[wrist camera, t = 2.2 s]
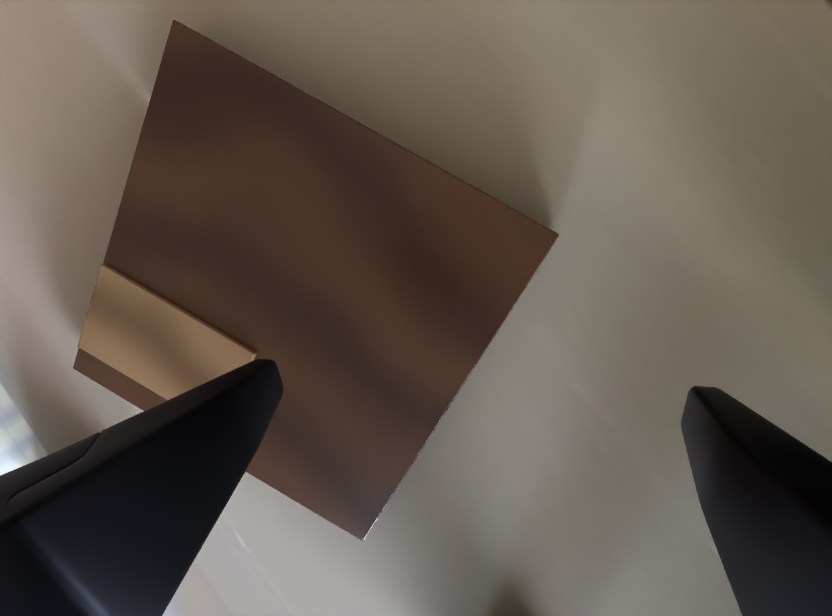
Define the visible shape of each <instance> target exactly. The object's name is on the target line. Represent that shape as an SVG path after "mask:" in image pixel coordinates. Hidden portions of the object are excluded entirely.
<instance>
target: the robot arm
mask: <svg viewBox="0 0 832 616" xmlns="http://www.w3.org/2000/svg"><path fill="white" fill-rule="evenodd" d="M283 391H284V387H283V383H282V380H281V376H280V373H279V370H278V367H277V364H276V363H275V361H273V360H271V359H256V360H253V361H251V362H249V363H247V364H245V365H243V366H241V367H238V368H236V369H234V370H232V371H230V372H228V373H225V374H223V375H221V376H219V377H217V378H215V379H213V380H210V381H208V382H206V383H204V384H202V385H200V386H197V387H195V388H193V389H191V390H189V391H187V392H185V393H182V394H180V395H178V396H176V397H174V398H172V399H170V400H167V401H165V402H163V403H161V404H159V405H157V406H154V407H152V408H150V409H148V410H146V411H144V412H142V413H139V414H137V415H135V416H133V417H131V418H129V419H127V420H124V421H122V422H120V423H118V424H116V425H114V426H111V427H109V428H107V429H105V430H103V431H102V432H101V433H96V434H94V435H92V436H90V437H88V438H85V439H83V440H81V441H79V442H77V443H75V444H72V445H70V446H68V447H66V448H64V449H61V450H59V451H57V452H55V453H52V454H50V455H48V456H46V457H43V458H41V459H39V460H36V461H34V462H32V463H29V464H27V465H25V466H22V467H20V468H18V469H15V470H13V471H10V472H8V473H6V474H3V475H1V476H0V616H162V615H163V613H164V611H165V610H166V608H167V606H168V604H169V603H170V601H171V599H172V597H173V596H174V594H175V592H176V590H177V589H178V587H179V585H180V584H181V582H182V580H183V578H184V577H185V575H186V573H187V571H188V570H189V568H190V566H191V565H192V563H193V561H194V559H195V558H196V556H197V554H198V552H199V551H200V549H201V547H202V546H203V544H204V542H205V540H206V539H207V537H208V535H209V533H210V532H211V530H212V528H213V526H214V525H215V523H216V521H217V520H218V518H219V516H220V514H221V513H222V511H223V509H224V507H225V506H226V504H227V502H228V501H229V499H230V497H231V495H232V494H233V492H234V490H235V488H236V487H237V485H238V483H239V482H240V480H241V478H242V476H243V475H244V473H245V471H246V469H247V468H248V466H249V464H250V463H251V461H252V459H253V457H254V455H255V454H256V452H257V450H258V448H259V446H260V444H261V442H262V440H263V438H264V435H265V433H266V431H267V429H268V427H269V424H270V422H271V420H272V418H273V416H274V413H275V411H276V409H277V407H278V405H279V402H280V400H281V398H282V396H283ZM681 429H682V434H683V438H684V442H685V446H686V450H687V454H688V458H689V462H690V466H691V470H692V474H693V478H694V482H695V486H696V490H697V494H698V497H699V501H700V504H701V508H702V511H703V514H704V516H705V519H706V522H707V525H708V527H709V530H710V532H711V535H712V538H713V540H714V543H715V546H716V548H717V551H718V553H719V556H720V559H721V561H722V564H723V566H724V569H725V572H726V574H727V577H728V580H729V582H730V585H731V587H732V590H733V593H734V595H735V598H736V600H737V603H738V606H739V608H740V611H741V614H742V616H832V462H831V461H829V460H828V459H826V458H825V457H823V456H822V455H820V454H819V453H817V452H816V451H814V450H812V449H811V448H809V447H808V446H806V445H805V444H803V443H802V442H800V441H799V440H797V439H796V438H794V437H793V436H791V435H790V434H788V433H786V432H785V431H783V430H782V429H780V428H779V427H777V426H776V425H774V424H773V423H771V422H770V421H768V420H767V419H765V418H764V417H762V416H761V415H759V414H757V413H756V412H754V411H753V410H751V409H750V408H748V407H747V406H745V405H744V404H742V403H741V402H739V401H738V400H736V399H735V398H733V397H731V396H730V395H728V394H727V393H725V392H724V391H722V390H721V389H719V388H716V387H704V386H694V387H692V388H691V389H690V390H689V392H688V396H687V400H686V403H685V407H684V411H683V415H682V419H681Z"/></svg>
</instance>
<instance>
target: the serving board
mask: <svg viewBox="0 0 832 616" xmlns="http://www.w3.org/2000/svg"><path fill="white" fill-rule="evenodd" d="M558 236H559V234H558V233H556V232H554V231H552V230H551V229H549V228H547V227H545V226H543V225H542V224H540V223H538V222H536V221H534V220H533V219H531V218H529V217H527V216H525V215H524V214H522V213H520V212H518V211H517V210H515V209H513V208H511V207H509V206H508V205H506V204H504V203H502V202H500V201H499V200H497V199H495V198H493V197H491V196H490V195H488V194H486V193H484V192H483V191H481V190H479V189H477V188H475V187H474V186H472V185H470V184H468V183H466V182H465V181H463V180H461V179H459V178H457V177H456V176H454V175H452V174H450V173H448V172H447V171H445V170H443V169H441V168H440V167H438V166H436V165H434V164H432V163H431V162H429V161H427V160H425V159H423V158H422V157H420V156H418V155H416V154H414V153H413V152H411V151H409V150H407V149H405V148H404V147H402V146H400V145H398V144H397V143H395V142H393V141H391V140H389V139H388V138H386V137H384V136H382V135H380V134H379V133H377V132H375V131H373V130H371V129H370V128H368V127H366V126H364V125H362V124H361V123H359V122H357V121H355V120H354V119H352V118H350V117H348V116H346V115H345V114H343V113H341V112H339V111H337V110H336V109H334V108H332V107H330V106H328V105H327V104H325V103H323V102H321V101H320V100H318V99H316V98H314V97H312V96H311V95H309V94H307V93H305V92H303V91H302V90H300V89H298V88H296V87H294V86H293V85H291V84H289V83H287V82H285V81H284V80H282V79H280V78H278V77H277V76H275V75H273V74H271V73H269V72H268V71H266V70H264V69H262V68H260V67H259V66H257V65H255V64H253V63H251V62H250V61H248V60H246V59H244V58H242V57H241V56H239V55H237V54H235V53H234V52H232V51H230V50H228V49H226V48H225V47H223V46H221V45H219V44H217V43H216V42H214V41H212V40H210V39H208V38H207V37H205V36H203V35H201V34H199V33H198V32H196V31H194V30H192V29H191V28H189V27H187V26H185V25H183V24H182V23H180V22H178V21H176V20H173V22H172V26H171V29H170V33H169V36H168V39H167V43H166V46H165V50H164V53H163V57H162V60H161V64H160V67H159V71H158V74H157V78H156V81H155V85H154V88H153V92H152V95H151V99H150V102H149V106H148V109H147V113H146V116H145V120H144V123H143V126H142V130H141V133H140V137H139V140H138V144H137V147H136V151H135V154H134V158H133V161H132V165H131V168H130V172H129V175H128V179H127V182H126V186H125V189H124V193H123V196H122V200H121V203H120V207H119V210H118V214H117V217H116V220H115V224H114V227H113V231H112V234H111V238H110V241H109V245H108V248H107V252H106V255H105V259H104V262H103V265H101V267H100V271H99V274H98V278H97V281H96V285H95V288H94V292H93V295H92V299H91V302H90V306H89V309H88V313H87V316H86V319H85V323H84V326H83V330H82V333H81V337H80V340H79V344H78V347H79V349H78V353H77V356H76V360H75V363H74V367H73V368H74V369H75V370H77V371H78V372H80V373H82V374H83V375H85V376H87V377H88V378H90V379H92V380H93V381H95V382H97V383H98V384H100V385H102V386H103V387H105V388H107V389H108V390H110V391H112V392H113V393H115V394H117V395H118V396H120V397H122V398H124V399H125V400H127V401H129V402H130V403H132V404H134V405H135V406H137V407H139V408H140V409H142V410H144V411H146V410H148V409H150V408H152V407H154V406H157V405H159V404H161V403H163V402H165V401H167V400H170V399H172V398H174V397H176V396H178V395H180V394H182V393H185V392H187V391H189V390H191V389H193V388H195V387H197V386H200V385H202V384H204V383H206V382H208V381H210V380H213V379H215V378H217V377H219V376H221V375H223V374H225V373H228V372H230V371H232V370H234V369H236V368H238V367H241V366H243V365H245V364H247V363H249V362H251V361H253V360H256V359H271V360H273V361H275V363H276V364H277V367H278V370H279V373H280V376H281V380H282V383H283V387H284V391H283V396H282V398H281V400H280V402H279V405H278V407H277V409H276V411H275V413H274V416H273V418H272V420H271V422H270V424H269V427H268V429H267V431H266V433H265V435H264V438H263V440H262V442H261V444H260V446H259V448H258V450H257V452H256V454H255V455H254V457H253V459H252V461H251V463H250V464H249V466H248V468H247V469H246V472H248V473H249V474H251V475H253V476H254V477H256V478H258V479H259V480H261V481H263V482H264V483H266V484H268V485H269V486H271V487H273V488H274V489H276V490H278V491H279V492H281V493H283V494H284V495H286V496H288V497H289V498H291V499H293V500H294V501H296V502H298V503H300V504H301V505H303V506H305V507H306V508H308V509H310V510H311V511H313V512H315V513H316V514H318V515H320V516H321V517H323V518H325V519H326V520H328V521H330V522H331V523H333V524H335V525H336V526H338V527H340V528H341V529H343V530H345V531H346V532H348V533H350V534H351V535H353V536H355V537H357V538H358V539H360V540H362V541H363V540H364V539H365V537H366V536H367V534H368V533H369V531H370V530H371V528H372V526H373V525H374V523H375V522H376V520H377V519H378V517H379V515H380V514H381V512H382V511H383V509H384V508H385V506H386V505H387V503H388V501H389V500H390V498H391V497H392V495H393V494H394V492H395V491H396V489H397V487H398V486H399V484H400V483H401V481H402V480H403V478H404V476H405V475H406V473H407V472H408V470H409V469H410V467H411V466H412V464H413V462H414V461H415V459H416V458H417V456H418V455H419V453H420V451H421V450H422V448H423V447H424V445H425V444H426V442H427V441H428V439H429V437H430V436H431V434H432V433H433V431H434V430H435V428H436V427H437V425H438V423H439V422H440V420H441V419H442V417H443V416H444V414H445V412H446V411H447V409H448V408H449V406H450V405H451V403H452V402H453V400H454V398H455V397H456V395H457V394H458V392H459V391H460V389H461V388H462V386H463V384H464V383H465V381H466V380H467V378H468V377H469V375H470V373H471V372H472V370H473V369H474V367H475V366H476V364H477V363H478V361H479V359H480V358H481V356H482V355H483V353H484V352H485V350H486V349H487V347H488V345H489V344H490V342H491V341H492V339H493V338H494V336H495V334H496V333H497V331H498V330H499V328H500V327H501V325H502V324H503V322H504V320H505V319H506V317H507V316H508V314H509V313H510V311H511V309H512V308H513V306H514V305H515V303H516V302H517V300H518V299H519V297H520V295H521V294H522V292H523V291H524V289H525V288H526V286H527V285H528V283H529V281H530V280H531V278H532V277H533V275H534V274H535V272H536V270H537V269H538V267H539V266H540V264H541V263H542V261H543V260H544V258H545V256H546V255H547V253H548V252H549V250H550V249H551V247H552V246H553V244H554V242H555V241H556V239H557V238H558Z"/></svg>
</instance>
